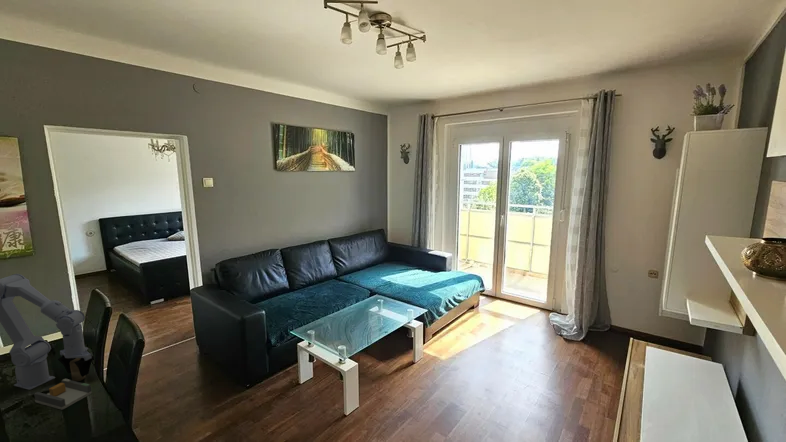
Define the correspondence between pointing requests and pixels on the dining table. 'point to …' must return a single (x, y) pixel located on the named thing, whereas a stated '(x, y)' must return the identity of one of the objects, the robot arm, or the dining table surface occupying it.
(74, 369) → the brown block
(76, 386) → the grey tray
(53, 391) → the block
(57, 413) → the dining table surface
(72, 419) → the dining table surface
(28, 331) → the robot arm
